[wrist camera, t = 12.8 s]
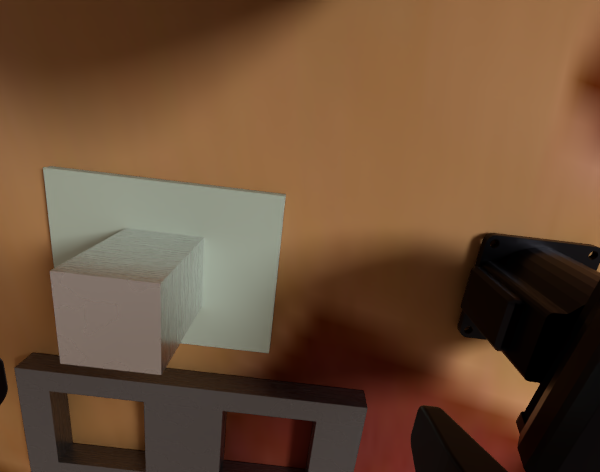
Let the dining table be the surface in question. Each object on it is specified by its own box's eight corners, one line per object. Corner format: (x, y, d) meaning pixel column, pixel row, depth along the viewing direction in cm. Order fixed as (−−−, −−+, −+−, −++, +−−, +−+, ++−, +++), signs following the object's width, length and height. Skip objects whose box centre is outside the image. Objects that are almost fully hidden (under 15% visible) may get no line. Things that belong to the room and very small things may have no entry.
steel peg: (204, 237, 20) (160, 283, 14) (202, 306, 21) (161, 375, 15) (126, 228, 20) (49, 270, 14) (128, 298, 21) (60, 363, 15)
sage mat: (285, 194, 19) (285, 196, 19) (269, 347, 22) (268, 353, 22) (50, 166, 19) (43, 167, 19) (67, 324, 22) (60, 329, 22)
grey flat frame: (363, 390, 23) (367, 408, 22) (343, 488, 26) (345, 510, 24) (32, 352, 23) (14, 367, 22) (47, 455, 26) (31, 475, 24)
